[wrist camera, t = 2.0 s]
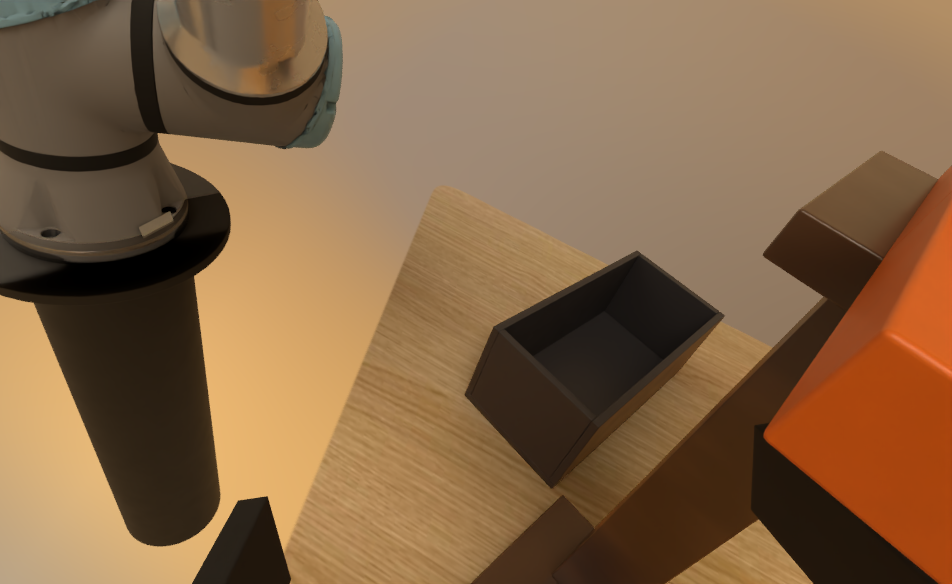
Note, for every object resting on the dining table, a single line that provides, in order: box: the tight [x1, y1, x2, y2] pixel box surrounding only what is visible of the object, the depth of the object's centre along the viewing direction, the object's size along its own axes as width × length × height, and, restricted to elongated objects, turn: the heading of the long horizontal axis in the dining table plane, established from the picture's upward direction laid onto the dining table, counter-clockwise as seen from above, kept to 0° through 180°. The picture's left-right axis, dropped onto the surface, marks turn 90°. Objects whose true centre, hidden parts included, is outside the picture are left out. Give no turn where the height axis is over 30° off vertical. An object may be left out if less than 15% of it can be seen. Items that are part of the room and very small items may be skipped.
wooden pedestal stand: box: [471, 151, 938, 584], centre depth 23 cm, size 10×10×30 cm
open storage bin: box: [465, 251, 724, 489], centre depth 45 cm, size 10×21×9 cm, turn 134°
